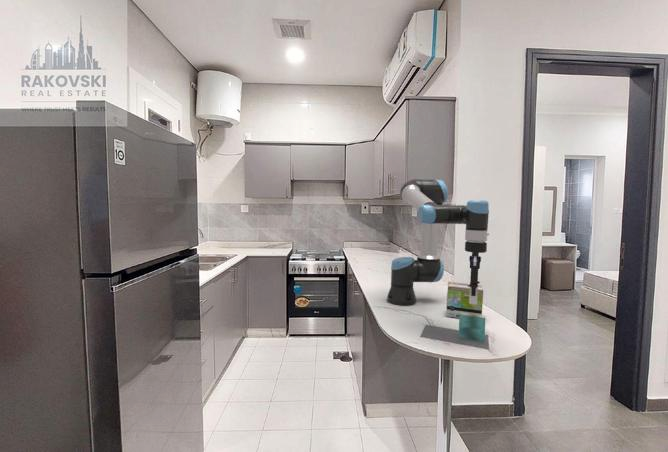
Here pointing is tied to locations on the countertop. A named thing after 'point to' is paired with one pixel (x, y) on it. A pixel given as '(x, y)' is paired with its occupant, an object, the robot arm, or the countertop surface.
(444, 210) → the robot arm
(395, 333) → the countertop surface
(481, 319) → the tile
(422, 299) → the countertop surface
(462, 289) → the tea box
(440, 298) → the countertop surface
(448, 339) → the mat
